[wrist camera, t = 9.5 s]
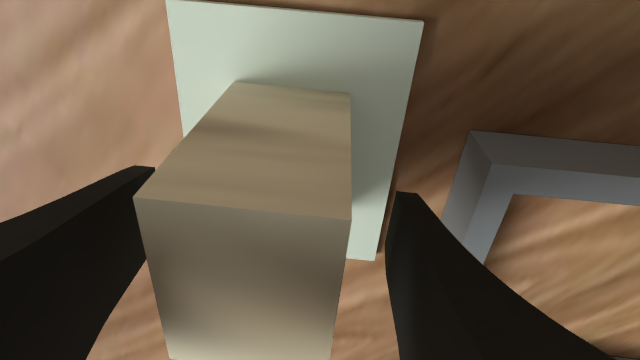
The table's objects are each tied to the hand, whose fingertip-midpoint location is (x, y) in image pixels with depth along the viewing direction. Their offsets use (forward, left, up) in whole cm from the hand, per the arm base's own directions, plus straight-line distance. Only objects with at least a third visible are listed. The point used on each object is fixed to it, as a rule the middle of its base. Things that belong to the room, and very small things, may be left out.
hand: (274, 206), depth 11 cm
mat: (0, 0, -4) cm, 4 cm away
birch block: (0, 0, -3) cm, 3 cm away
